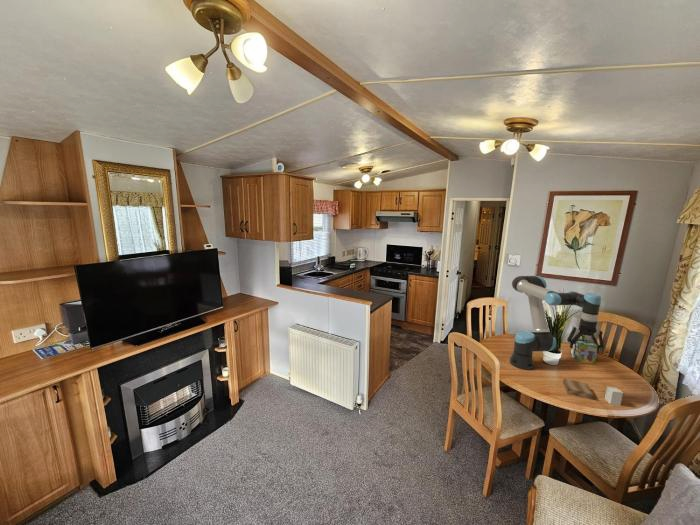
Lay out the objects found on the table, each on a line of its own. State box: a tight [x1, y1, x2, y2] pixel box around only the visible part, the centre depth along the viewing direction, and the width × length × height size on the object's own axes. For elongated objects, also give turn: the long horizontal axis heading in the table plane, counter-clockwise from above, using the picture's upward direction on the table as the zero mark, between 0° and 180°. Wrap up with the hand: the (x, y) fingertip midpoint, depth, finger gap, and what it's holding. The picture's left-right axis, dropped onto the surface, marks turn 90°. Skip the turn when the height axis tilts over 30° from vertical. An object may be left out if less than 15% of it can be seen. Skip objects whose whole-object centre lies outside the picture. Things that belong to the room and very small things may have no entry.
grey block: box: [604, 386, 624, 406], centre depth 166 cm, size 5×5×8 cm
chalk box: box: [570, 335, 598, 365], centre depth 171 cm, size 9×9×15 cm
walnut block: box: [562, 378, 594, 401], centre depth 176 cm, size 12×12×4 cm
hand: (582, 355), depth 172 cm, fingers closed on chalk box, 10 cm apart
